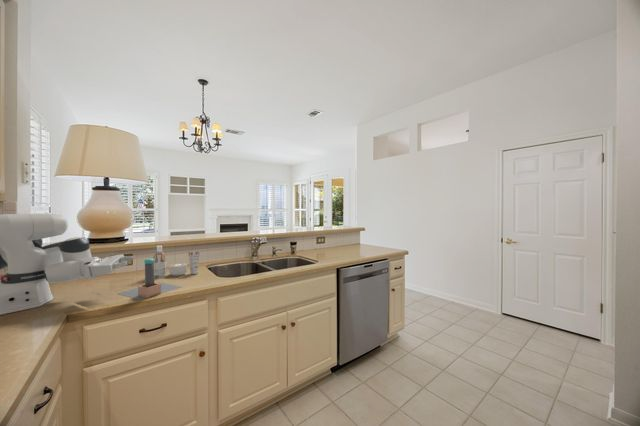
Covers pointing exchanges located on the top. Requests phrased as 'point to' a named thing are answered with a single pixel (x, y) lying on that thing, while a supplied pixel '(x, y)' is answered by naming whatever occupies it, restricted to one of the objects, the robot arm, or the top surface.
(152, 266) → the marker
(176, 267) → the cosmetic set
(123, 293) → the board
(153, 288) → the pink open box
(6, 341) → the top surface
